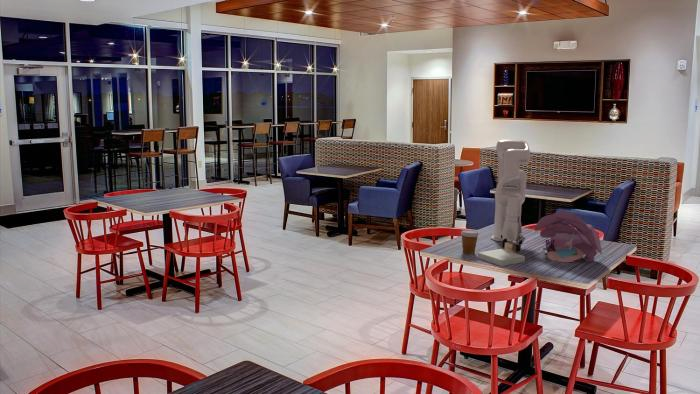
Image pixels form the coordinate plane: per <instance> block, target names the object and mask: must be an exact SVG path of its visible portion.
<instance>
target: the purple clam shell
mask: <svg viewBox="0 0 700 394" xmlns="http://www.w3.org/2000/svg"><path fill="white" fill-rule="evenodd" d="M539 230H541V231H540V232H539V235H540V237H541V238H545V242H544V243H545V247H543V248H542V251H543V252H544V253H545V254H547V258H548V259H549V260H551V261H555V260H556V261H555V262H559V263H572V262H575V261H576V260H580V259H582V258H583V260H584V259H586V260H585V261H587V260H588V261H587V262H590V261H591V262H594V260H595V257H596V255H597V253H599V254H600V255H602V252H603V251H602V245H601V239H600V235H599V233H598V232H597V230H596V229H595V228H594V227H593V225H591V224H589V223H588V224H587V223H586V222H585V221H584V220H582V218H581V217H579V216H578V215H576V214H574V213H573V212H570V211H565V210H561V211H557V212H554V213H553V214H547V215H545V216H543V217H541V218H540V219H539V220H538V221H537V223H536V225H535V229H534V232H537V231H539Z"/></svg>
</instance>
